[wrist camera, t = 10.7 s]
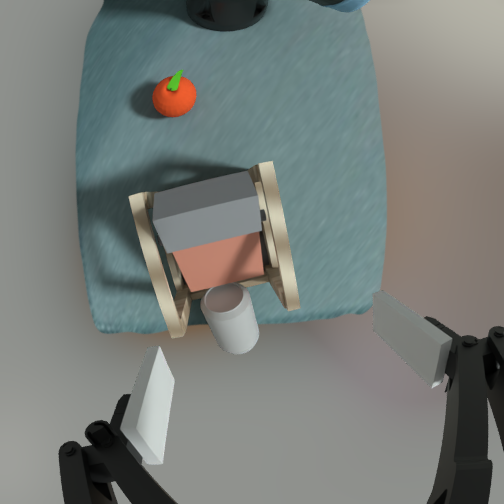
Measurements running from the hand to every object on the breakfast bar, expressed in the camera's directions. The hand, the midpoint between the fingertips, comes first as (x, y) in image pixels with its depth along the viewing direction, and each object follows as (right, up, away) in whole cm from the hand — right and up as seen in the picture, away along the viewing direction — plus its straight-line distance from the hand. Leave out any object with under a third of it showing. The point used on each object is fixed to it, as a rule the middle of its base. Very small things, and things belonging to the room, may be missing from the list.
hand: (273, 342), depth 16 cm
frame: (-7, +8, +31) cm, 32 cm away
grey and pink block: (-6, +8, +21) cm, 23 cm away
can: (-5, -1, +24) cm, 25 cm away
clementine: (-14, +30, +25) cm, 42 cm away
